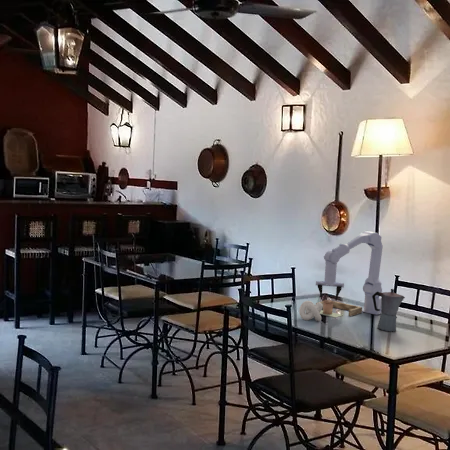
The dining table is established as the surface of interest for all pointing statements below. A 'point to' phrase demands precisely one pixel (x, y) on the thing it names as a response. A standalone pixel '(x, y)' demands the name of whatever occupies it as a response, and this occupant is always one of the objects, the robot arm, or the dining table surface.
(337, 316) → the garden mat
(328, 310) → the terracotta pot
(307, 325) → the dining table surface
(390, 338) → the dining table surface
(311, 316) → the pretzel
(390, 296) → the moka pot
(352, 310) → the tan wooden bent bar
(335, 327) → the dining table surface
